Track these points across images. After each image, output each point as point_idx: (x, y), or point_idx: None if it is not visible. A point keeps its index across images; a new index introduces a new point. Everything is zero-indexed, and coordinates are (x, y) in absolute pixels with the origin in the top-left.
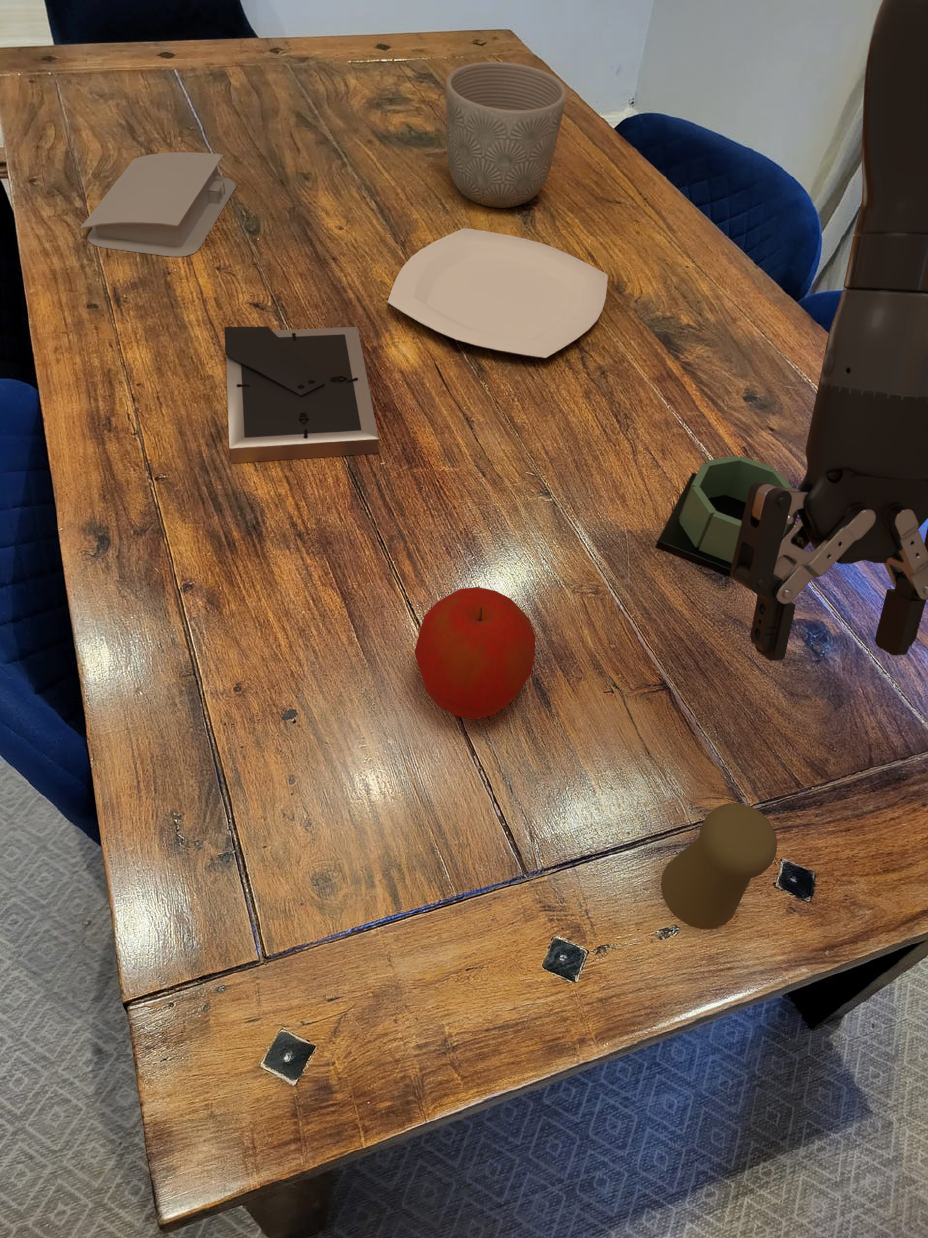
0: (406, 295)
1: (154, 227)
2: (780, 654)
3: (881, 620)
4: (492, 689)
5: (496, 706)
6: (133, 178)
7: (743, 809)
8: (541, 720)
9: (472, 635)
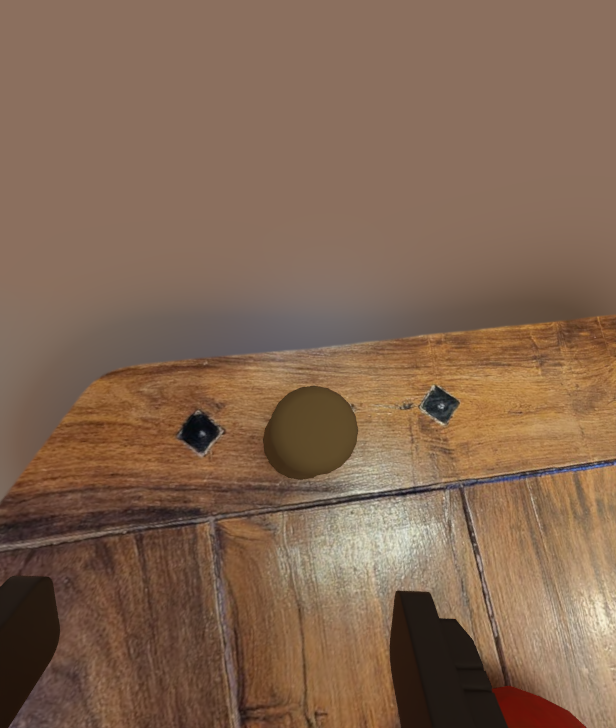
0: None
1: None
2: (418, 600)
3: (13, 711)
4: (544, 719)
5: (510, 695)
6: None
7: (307, 455)
8: None
9: None
